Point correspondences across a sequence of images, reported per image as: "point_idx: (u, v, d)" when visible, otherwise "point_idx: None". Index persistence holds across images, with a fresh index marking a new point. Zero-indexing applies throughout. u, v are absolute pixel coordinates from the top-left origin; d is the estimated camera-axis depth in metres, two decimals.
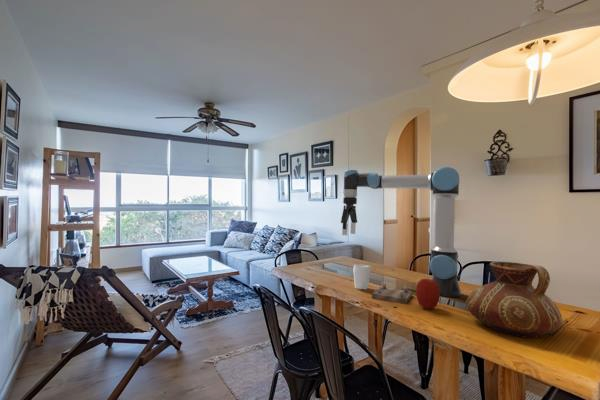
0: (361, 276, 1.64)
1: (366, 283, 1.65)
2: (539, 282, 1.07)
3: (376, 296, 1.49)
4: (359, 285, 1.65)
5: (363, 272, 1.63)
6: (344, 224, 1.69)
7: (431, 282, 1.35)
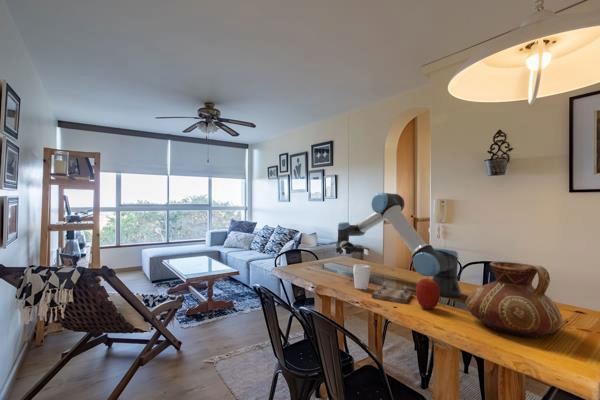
0: (361, 276, 1.64)
1: (366, 283, 1.65)
2: (539, 282, 1.07)
3: (376, 296, 1.49)
4: (359, 285, 1.65)
5: (363, 272, 1.63)
6: (340, 250, 1.83)
7: (431, 282, 1.35)
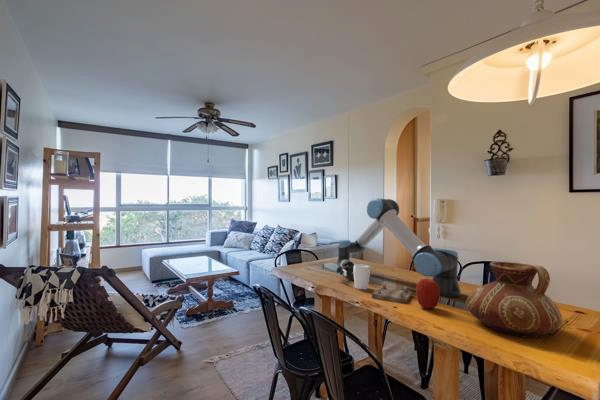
0: (361, 276, 1.64)
1: (366, 283, 1.65)
2: (539, 282, 1.07)
3: (376, 296, 1.49)
4: (358, 285, 1.65)
5: (363, 272, 1.63)
6: (340, 271, 1.78)
7: (431, 282, 1.35)
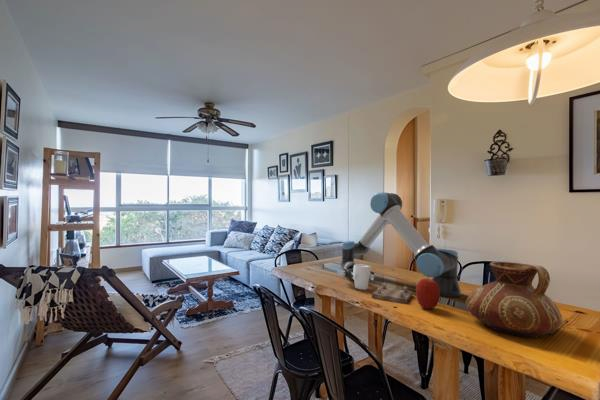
0: (361, 276, 1.64)
1: (366, 283, 1.65)
2: (539, 282, 1.07)
3: (376, 296, 1.49)
4: (358, 285, 1.65)
5: (363, 272, 1.63)
6: (349, 274, 1.68)
7: (431, 282, 1.35)
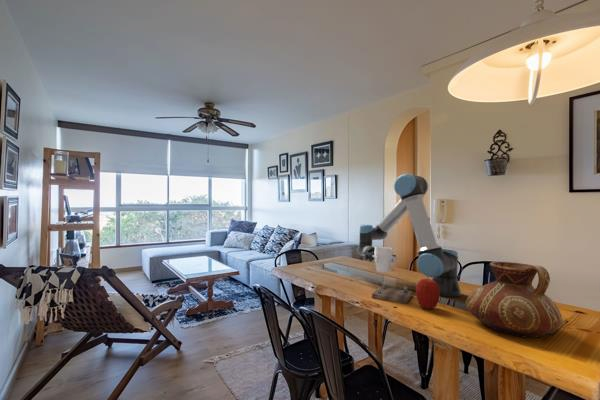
0: (384, 258, 1.54)
1: (389, 266, 1.55)
2: (539, 282, 1.07)
3: (376, 296, 1.49)
4: (381, 268, 1.55)
5: (385, 254, 1.53)
6: (370, 257, 1.58)
7: (431, 282, 1.35)
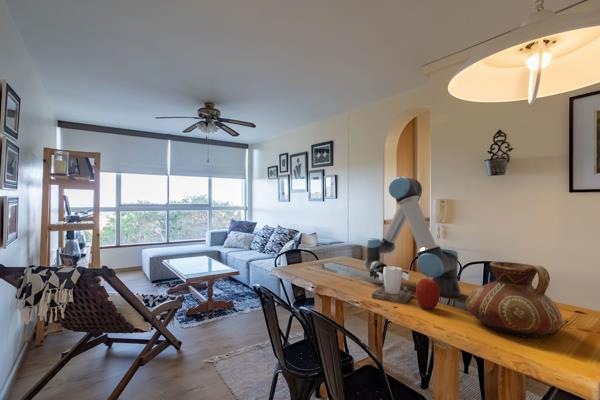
0: (393, 280, 1.49)
1: (398, 287, 1.50)
2: (539, 282, 1.07)
3: (376, 296, 1.49)
4: (390, 289, 1.50)
5: (395, 275, 1.49)
6: (374, 274, 1.55)
7: (431, 282, 1.35)
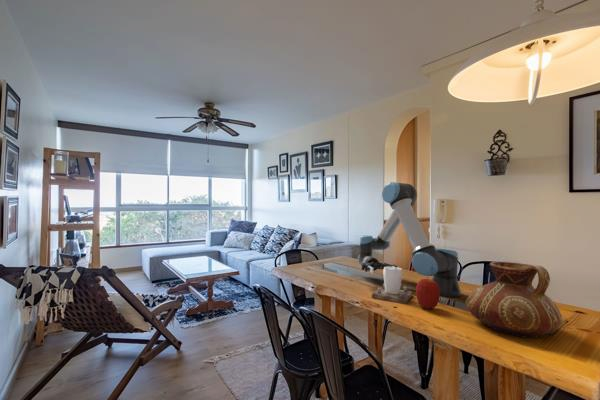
0: (393, 280, 1.49)
1: (398, 287, 1.50)
2: (539, 282, 1.07)
3: (376, 296, 1.49)
4: (390, 289, 1.50)
5: (395, 275, 1.49)
6: (366, 267, 1.68)
7: (431, 282, 1.35)
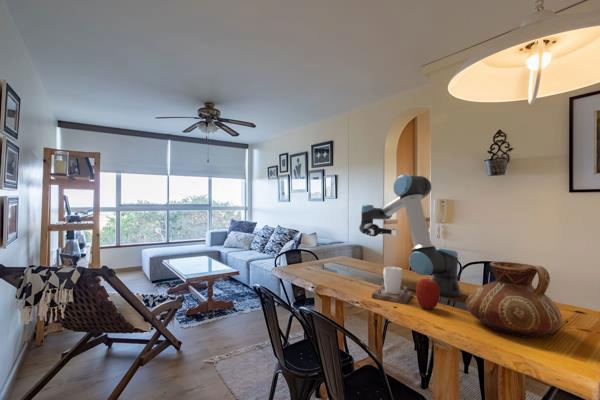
0: (393, 279, 1.49)
1: (398, 287, 1.50)
2: (539, 282, 1.07)
3: (376, 296, 1.49)
4: (390, 289, 1.50)
5: (395, 275, 1.49)
6: (367, 231, 1.77)
7: (431, 282, 1.35)
